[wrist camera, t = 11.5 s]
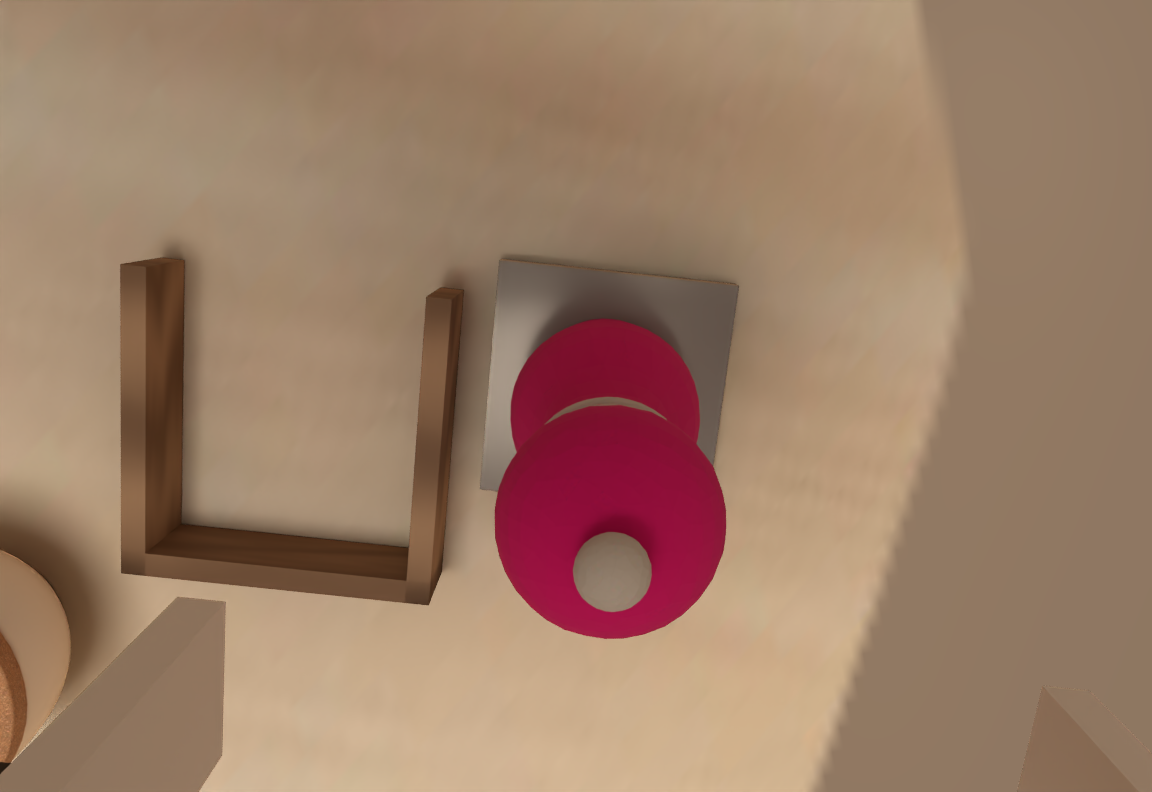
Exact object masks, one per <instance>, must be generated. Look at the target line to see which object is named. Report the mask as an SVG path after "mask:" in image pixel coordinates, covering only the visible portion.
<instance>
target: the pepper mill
mask: <svg viewBox="0 0 1152 792" xmlns="http://www.w3.org/2000/svg"><path fill="white" fill-rule="evenodd" d="M510 421H511V430H512V438H513V441H514V445H515V448H516V452H517V453H516V454H515V456H514V457H513V459H512V460H511V462H510V464H509V466H508V467H507V469H506V471H505V473H504V476H503V478H502V481H501V483H500V486H499V489H498V495H497V500H496V506H495V539H496V543H497V547H498V552H499V556H500V559H501V561H502V564H503V567H504V570H505V572H506V574H507V576H508V577H509V579H510V581H511V583H512V584H513V586H514V588H515V590H516V591H517V592H518V593H519V594H520V595H521V596H522V598H523V599H524V600H525V601H526V602H527V603H528V604H529V605H530V607H531V608H533V609H534V610H535V611H536V612H537V613H539V614H540V615H541V616H542V617H544V618H545V619H546V620H548V621H550V622H551V623H553V624H555V625H557V626H559V627H561V628H562V629H564V630H568V631H571V632H575V633H578V634H582V635H585V636H592V637H598V638H604V639H616V638H628V637H633V636H638V635H643V634H646V633H648V632H651V631H654V630H656V629H659V628H662V627H664V626H666V625H668V624H669V623H671V622H672V621H674V620H675V619H677V618H678V617H680V616H681V615H683V614H684V613H685V612H686V611H687V610H688V609H689V608H690V607H691V606H692V605H693V604H694V603H695V602H696V601H697V600H698V599H699V598H700V597H701V595H702V594H703V592H704V591H705V589H706V588H707V587H708V585H709V584H710V582H711V581H712V579H713V577H714V574H715V572H716V569H717V567H718V564H719V561H720V559H721V556H722V554H723V550H724V544H725V535H726V508H725V503H724V497H723V493H722V489H721V487H720V484H719V481H718V479H717V476H716V473H715V471H714V468H713V466H712V464H711V463H710V461H709V460H708V459H707V457H706V456H705V454H704V453H703V452H702V451H701V449H700V448H699V447H698V445H697V444H696V443H697V440H698V433H699V426H700V411H699V399H698V394H697V390H696V386H695V382H694V380H693V378H692V375H691V373H690V371H689V369H688V367H687V366H686V364H685V363H684V361H683V359H682V358H681V357H680V355H679V354H678V353H677V352H676V351H675V350H674V349H673V348H672V346H670V345H669V344H668V343H667V342H665V341H664V340H663V339H662V338H661V337H659V336H657V335H656V334H654V333H652V332H650V331H649V330H647V329H644V328H642V327H639V326H637V325H634V324H631V323H628V322H624V321H621V320H615V319H593V320H588V321H584V322H581V323H578V324H575V325H573V326H570V327H568V328H566V329H564V330H562V331H560V332H558V333H556V334H554V335H553V336H552V337H550V338H549V339H548V340H546V341H545V342H543V343H542V344H541V345H540V346H539V347H538V348H537V349H536V350H535V351H534V352H533V354H532V355H531V356H530V357H529V358H528V359H527V361H526V363H525V364H524V366H523V368H522V369H521V371H520V373H519V375H518V378H517V380H516V383H515V386H514V389H513V394H512V399H511V416H510Z"/></svg>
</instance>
